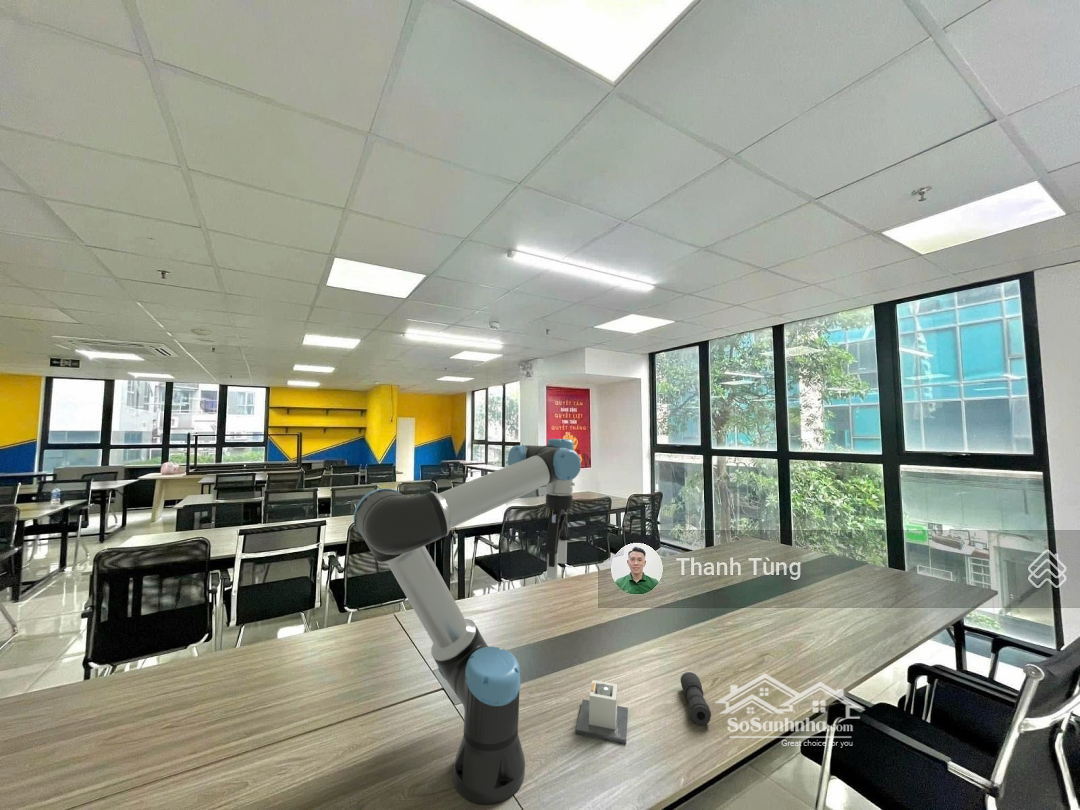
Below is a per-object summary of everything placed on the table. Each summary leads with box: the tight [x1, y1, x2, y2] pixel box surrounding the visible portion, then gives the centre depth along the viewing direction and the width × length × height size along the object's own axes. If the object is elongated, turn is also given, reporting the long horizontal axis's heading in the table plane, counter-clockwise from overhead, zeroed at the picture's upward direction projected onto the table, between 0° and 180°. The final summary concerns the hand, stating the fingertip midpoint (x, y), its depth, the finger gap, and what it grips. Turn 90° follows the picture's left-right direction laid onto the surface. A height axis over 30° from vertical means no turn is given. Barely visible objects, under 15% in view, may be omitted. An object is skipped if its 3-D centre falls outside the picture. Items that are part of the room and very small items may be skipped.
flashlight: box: [679, 670, 712, 726], centre depth 113 cm, size 15×5×5 cm, turn 170°
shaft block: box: [575, 684, 629, 745], centre depth 106 cm, size 12×12×8 cm
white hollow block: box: [588, 679, 618, 729], centre depth 106 cm, size 6×6×7 cm
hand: (557, 570), depth 116 cm, fingers open, 13 cm apart
